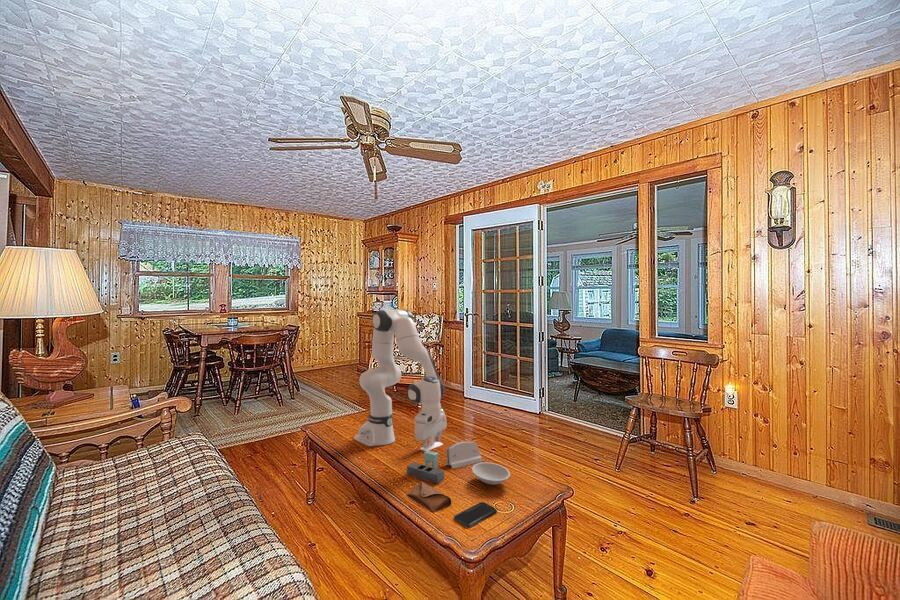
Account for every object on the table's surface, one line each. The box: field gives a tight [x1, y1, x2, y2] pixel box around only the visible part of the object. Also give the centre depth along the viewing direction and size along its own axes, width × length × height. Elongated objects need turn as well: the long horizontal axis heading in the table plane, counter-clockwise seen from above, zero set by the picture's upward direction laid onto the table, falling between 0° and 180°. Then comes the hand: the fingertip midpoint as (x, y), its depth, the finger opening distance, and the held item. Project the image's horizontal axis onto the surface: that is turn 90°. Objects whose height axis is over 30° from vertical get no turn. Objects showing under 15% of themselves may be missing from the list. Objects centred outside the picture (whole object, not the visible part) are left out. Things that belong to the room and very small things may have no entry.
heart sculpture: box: [420, 433, 444, 452], centre depth 202 cm, size 16×5×18 cm, turn 137°
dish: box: [471, 461, 511, 486], centre depth 163 cm, size 18×14×5 cm
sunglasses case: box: [406, 480, 452, 513], centre depth 151 cm, size 18×7×7 cm, turn 43°
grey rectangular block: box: [406, 461, 445, 485], centre depth 169 cm, size 16×5×4 cm, turn 58°
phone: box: [453, 501, 498, 529], centre depth 140 cm, size 8×1×15 cm
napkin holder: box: [445, 441, 484, 469], centre depth 183 cm, size 17×5×10 cm, turn 118°
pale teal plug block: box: [423, 450, 439, 469], centre depth 179 cm, size 6×3×6 cm, turn 58°
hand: (431, 444), depth 179 cm, fingers open, 8 cm apart
